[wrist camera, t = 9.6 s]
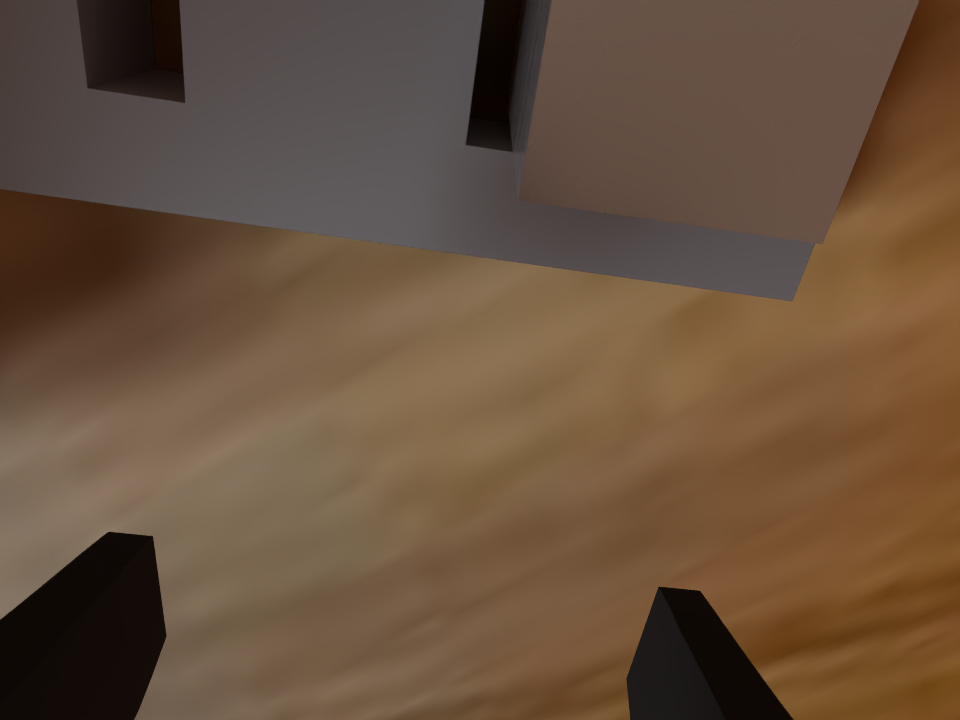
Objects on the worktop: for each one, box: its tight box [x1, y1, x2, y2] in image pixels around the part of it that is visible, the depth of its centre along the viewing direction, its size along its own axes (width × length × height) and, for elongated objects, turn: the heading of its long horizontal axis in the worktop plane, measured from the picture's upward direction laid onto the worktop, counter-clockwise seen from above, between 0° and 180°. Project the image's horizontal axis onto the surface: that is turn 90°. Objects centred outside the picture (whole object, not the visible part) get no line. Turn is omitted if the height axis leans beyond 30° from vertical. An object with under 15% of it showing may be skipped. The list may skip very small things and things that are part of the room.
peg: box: [507, 0, 919, 244], centre depth 11 cm, size 4×4×8 cm
